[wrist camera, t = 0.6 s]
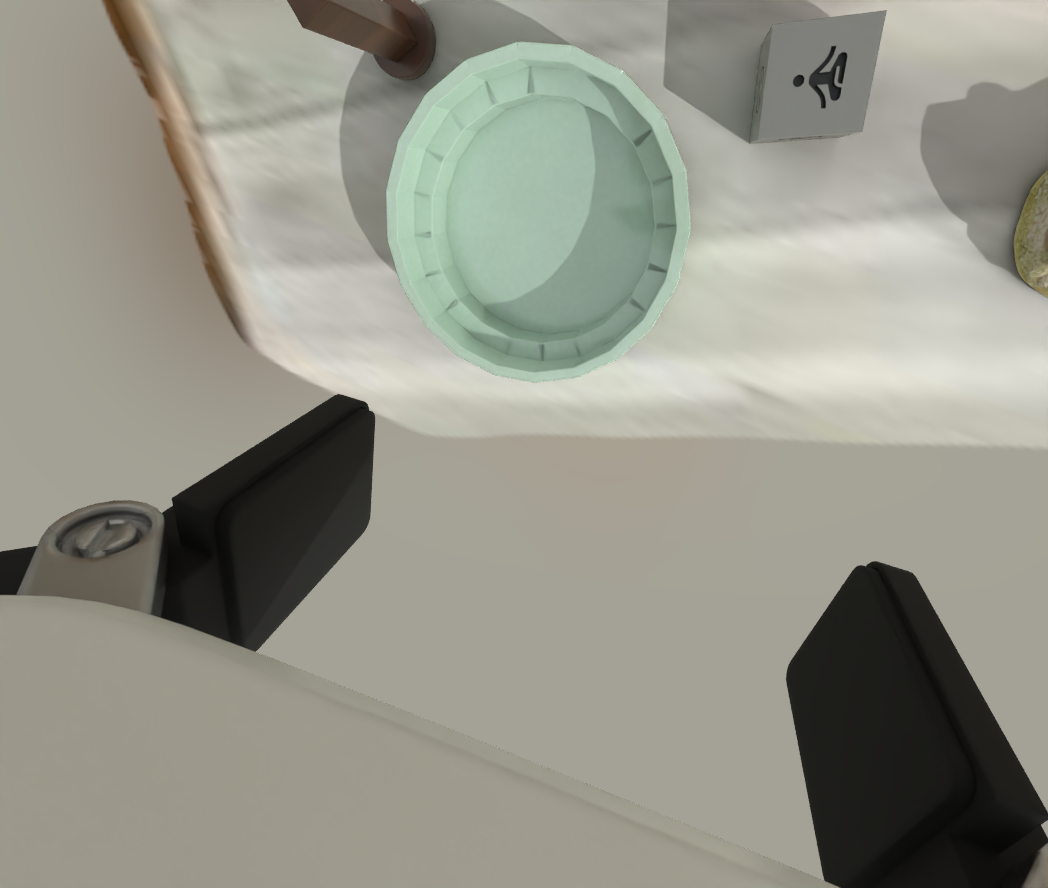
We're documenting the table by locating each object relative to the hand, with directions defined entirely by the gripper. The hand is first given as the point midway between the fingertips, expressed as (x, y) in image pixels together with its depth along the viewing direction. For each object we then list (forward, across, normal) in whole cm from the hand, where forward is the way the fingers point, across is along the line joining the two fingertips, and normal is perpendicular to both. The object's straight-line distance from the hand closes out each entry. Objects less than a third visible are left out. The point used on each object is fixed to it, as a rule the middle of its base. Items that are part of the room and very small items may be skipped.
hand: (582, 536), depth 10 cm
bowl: (+32, +9, -1) cm, 33 cm away
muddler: (+32, +21, -10) cm, 40 cm away
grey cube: (+32, -5, -12) cm, 35 cm away
